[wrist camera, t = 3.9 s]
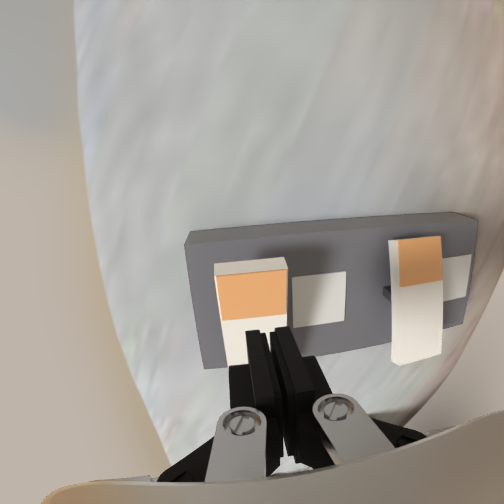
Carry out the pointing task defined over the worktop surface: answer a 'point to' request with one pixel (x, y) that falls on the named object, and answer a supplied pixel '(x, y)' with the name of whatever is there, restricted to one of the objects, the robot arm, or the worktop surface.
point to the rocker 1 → (250, 301)
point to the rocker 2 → (416, 298)
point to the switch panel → (330, 276)
